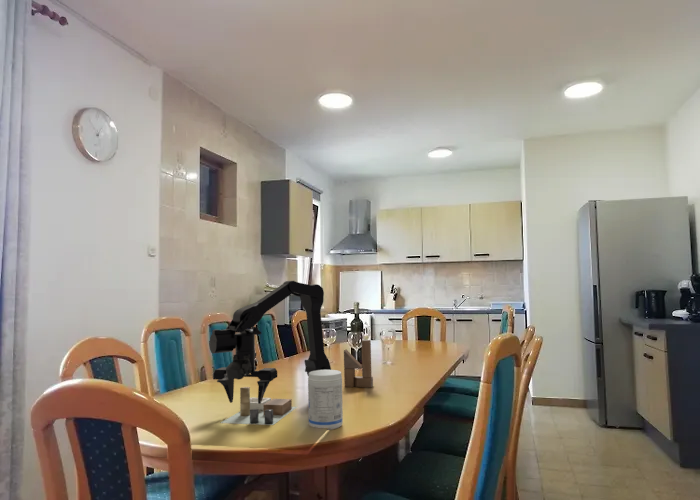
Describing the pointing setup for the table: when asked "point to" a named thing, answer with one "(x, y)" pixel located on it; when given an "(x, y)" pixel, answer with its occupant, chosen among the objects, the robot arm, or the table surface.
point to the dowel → (244, 401)
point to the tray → (260, 406)
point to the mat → (246, 419)
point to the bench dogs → (255, 416)
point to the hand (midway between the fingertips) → (245, 402)
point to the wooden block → (358, 367)
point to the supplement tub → (325, 399)
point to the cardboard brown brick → (279, 406)
